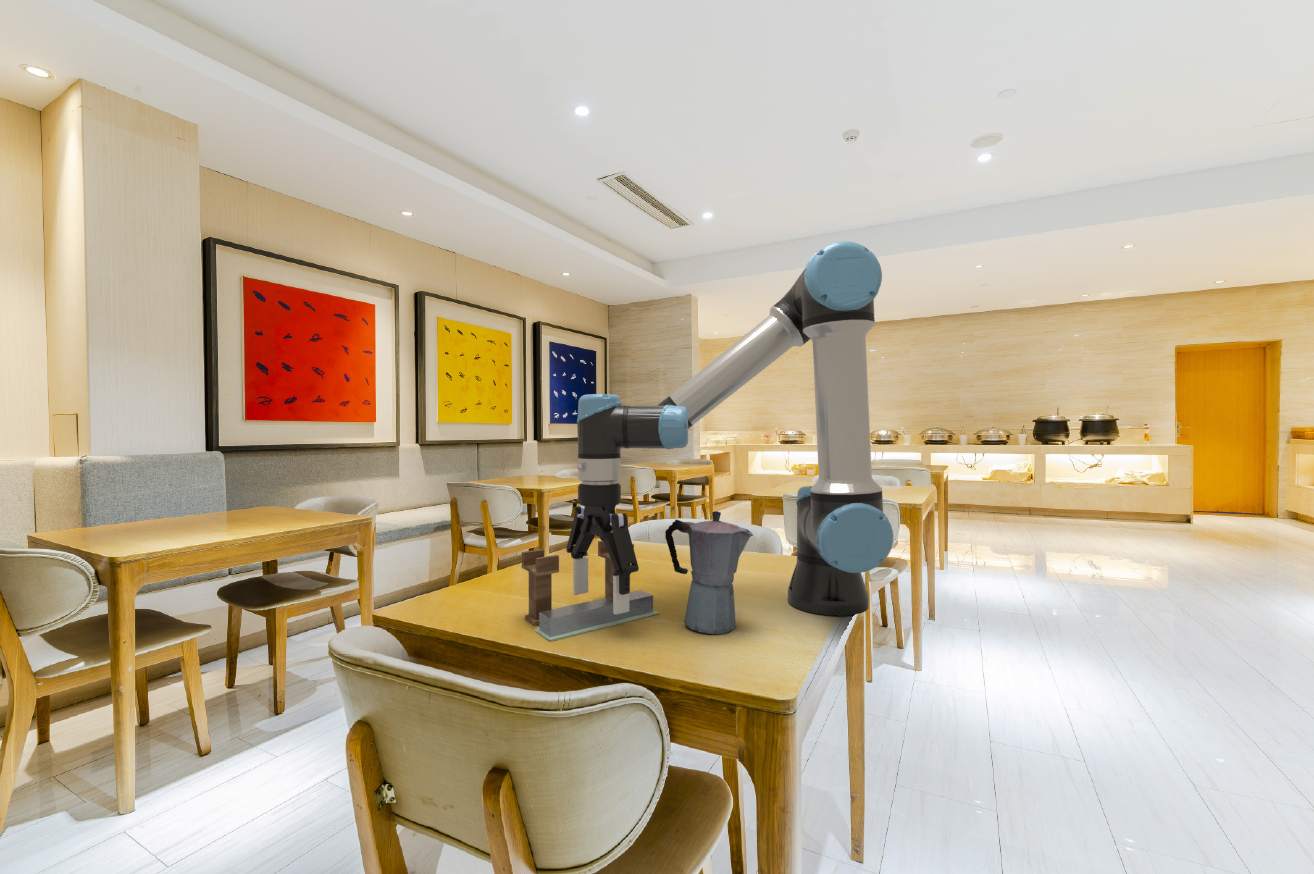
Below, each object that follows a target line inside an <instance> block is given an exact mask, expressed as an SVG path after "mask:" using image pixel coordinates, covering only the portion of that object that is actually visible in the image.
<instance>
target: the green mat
mask: <svg viewBox="0 0 1314 874" xmlns="http://www.w3.org/2000/svg"><path fill="white" fill-rule="evenodd" d="M656 615H660V611H657V610H654V609H653V612H649V613H645V614H641V615H637V616H633V617H629V618H625V619H621V620H617V621H613V622H609V623H605V624H601V625H597V626H593V627H589V628H585V629H581V630H577V631H573V632H569V633H565V634H561V635H557V636H553V637H549V636H548V635H546V634H545V633H543V632H542V631H540V630H539V627H537V628H534V629H533V631H534V632H535V633H537V634H538V635H540V636H541V637H542V638H544V639H545V640H547V641H548V642H553V641H559V640H562V639H565V638H569V637H574V636H578V635H581V634H585V633H589V632H594V631H597V630H603V629H605V628H610V627H614V626H617V625H621V624H625V623H629V622H632V621H637V620H641V619H645V618H649V617H652V616H656Z"/></svg>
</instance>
